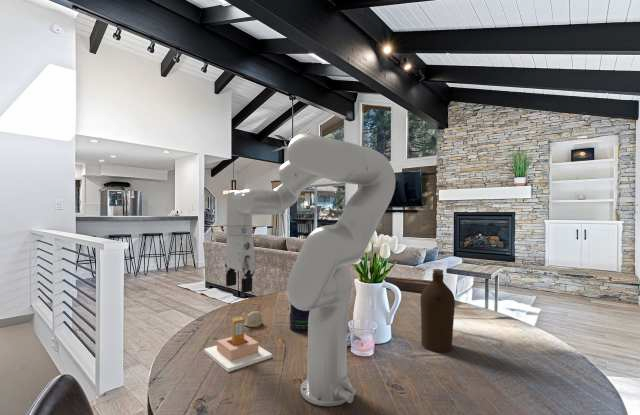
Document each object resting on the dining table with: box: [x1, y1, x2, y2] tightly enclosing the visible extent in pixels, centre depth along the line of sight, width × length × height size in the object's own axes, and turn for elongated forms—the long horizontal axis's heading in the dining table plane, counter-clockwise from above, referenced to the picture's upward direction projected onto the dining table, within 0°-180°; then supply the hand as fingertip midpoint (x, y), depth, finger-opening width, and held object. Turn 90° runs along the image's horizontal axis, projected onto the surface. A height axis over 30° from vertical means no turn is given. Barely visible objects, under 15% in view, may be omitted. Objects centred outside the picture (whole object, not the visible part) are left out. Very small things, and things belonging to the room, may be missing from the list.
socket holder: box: [203, 333, 273, 373], centre depth 102 cm, size 16×14×4 cm
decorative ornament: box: [242, 310, 263, 328], centre depth 127 cm, size 4×8×5 cm, turn 124°
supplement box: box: [231, 316, 245, 346], centre depth 102 cm, size 3×3×10 cm
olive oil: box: [419, 268, 456, 353], centre depth 111 cm, size 11×11×25 cm
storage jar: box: [289, 303, 310, 334], centre depth 125 cm, size 10×10×15 cm
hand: (238, 288), depth 102 cm, fingers open, 9 cm apart
